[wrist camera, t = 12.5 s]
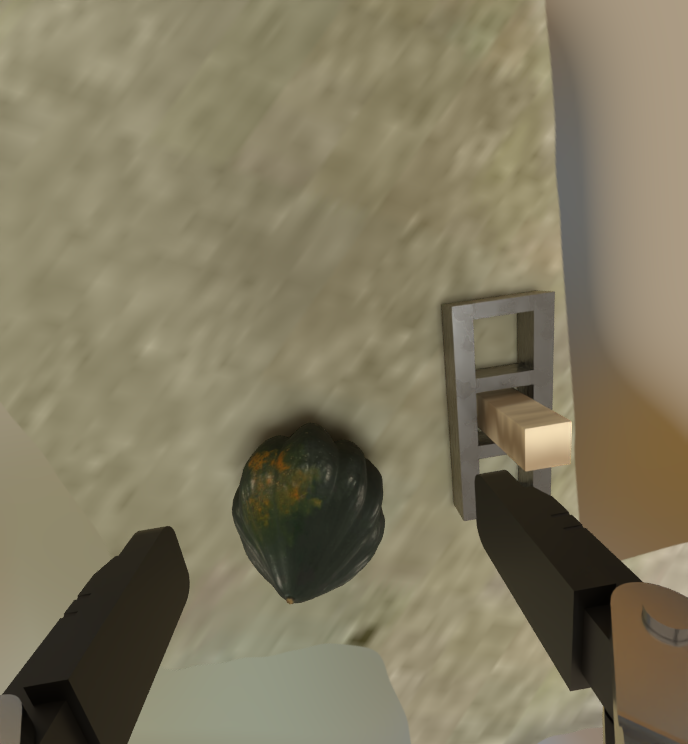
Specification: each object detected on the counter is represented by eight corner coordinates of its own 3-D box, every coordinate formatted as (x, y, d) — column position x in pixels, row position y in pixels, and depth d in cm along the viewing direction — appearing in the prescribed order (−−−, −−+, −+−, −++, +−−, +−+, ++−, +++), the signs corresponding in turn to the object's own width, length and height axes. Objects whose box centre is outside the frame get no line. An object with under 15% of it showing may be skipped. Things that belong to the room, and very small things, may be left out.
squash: (379, 401, 32) (263, 525, 22) (426, 522, 37) (349, 673, 26) (282, 404, 42) (169, 493, 31) (330, 501, 46) (244, 606, 36)
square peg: (474, 391, 39) (524, 429, 29) (509, 386, 39) (571, 421, 29) (475, 424, 40) (525, 471, 30) (510, 419, 40) (570, 463, 30)
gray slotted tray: (441, 304, 36) (451, 306, 33) (535, 290, 36) (554, 291, 33) (454, 504, 42) (463, 521, 39) (534, 491, 42) (550, 506, 40)
